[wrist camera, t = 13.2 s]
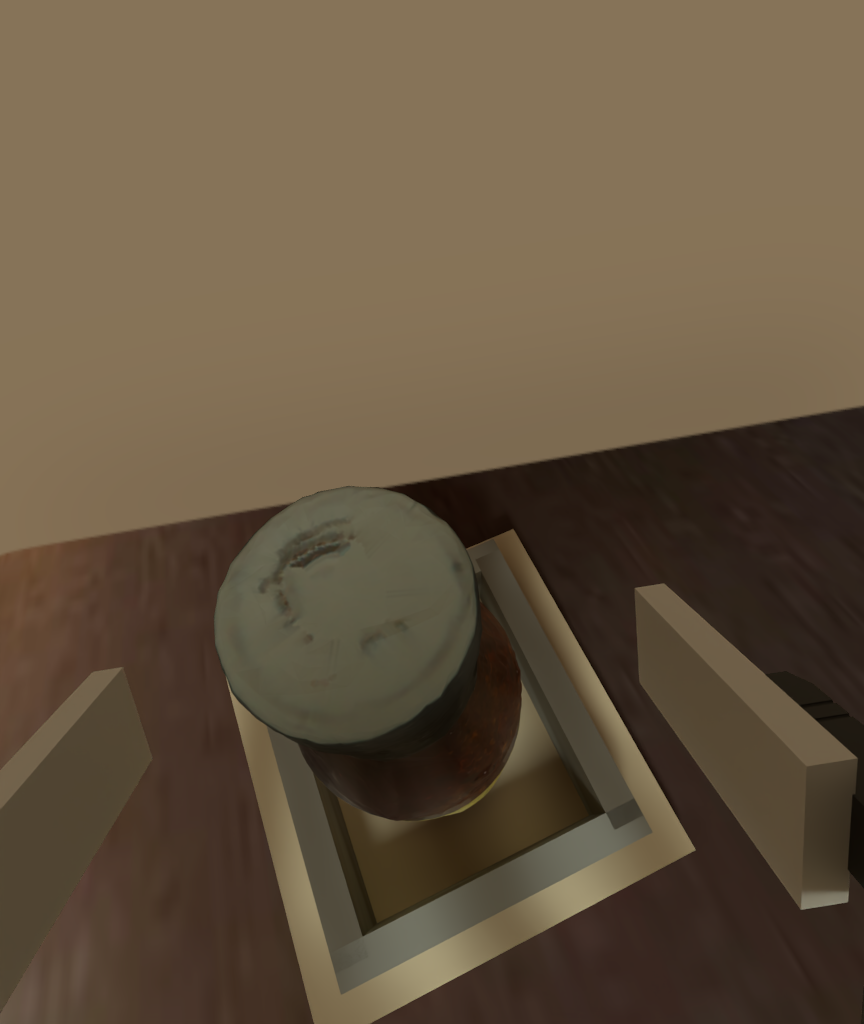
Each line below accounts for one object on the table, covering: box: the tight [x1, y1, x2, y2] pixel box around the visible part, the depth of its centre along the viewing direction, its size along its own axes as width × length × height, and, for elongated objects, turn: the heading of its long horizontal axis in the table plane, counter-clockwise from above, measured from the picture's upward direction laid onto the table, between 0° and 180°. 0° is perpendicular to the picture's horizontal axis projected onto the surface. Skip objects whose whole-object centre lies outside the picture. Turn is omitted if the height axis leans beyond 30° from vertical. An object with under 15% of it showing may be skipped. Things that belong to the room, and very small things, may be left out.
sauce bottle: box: [214, 486, 522, 821], centre depth 18 cm, size 6×6×20 cm
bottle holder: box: [226, 529, 695, 1024], centre depth 25 cm, size 16×16×5 cm
